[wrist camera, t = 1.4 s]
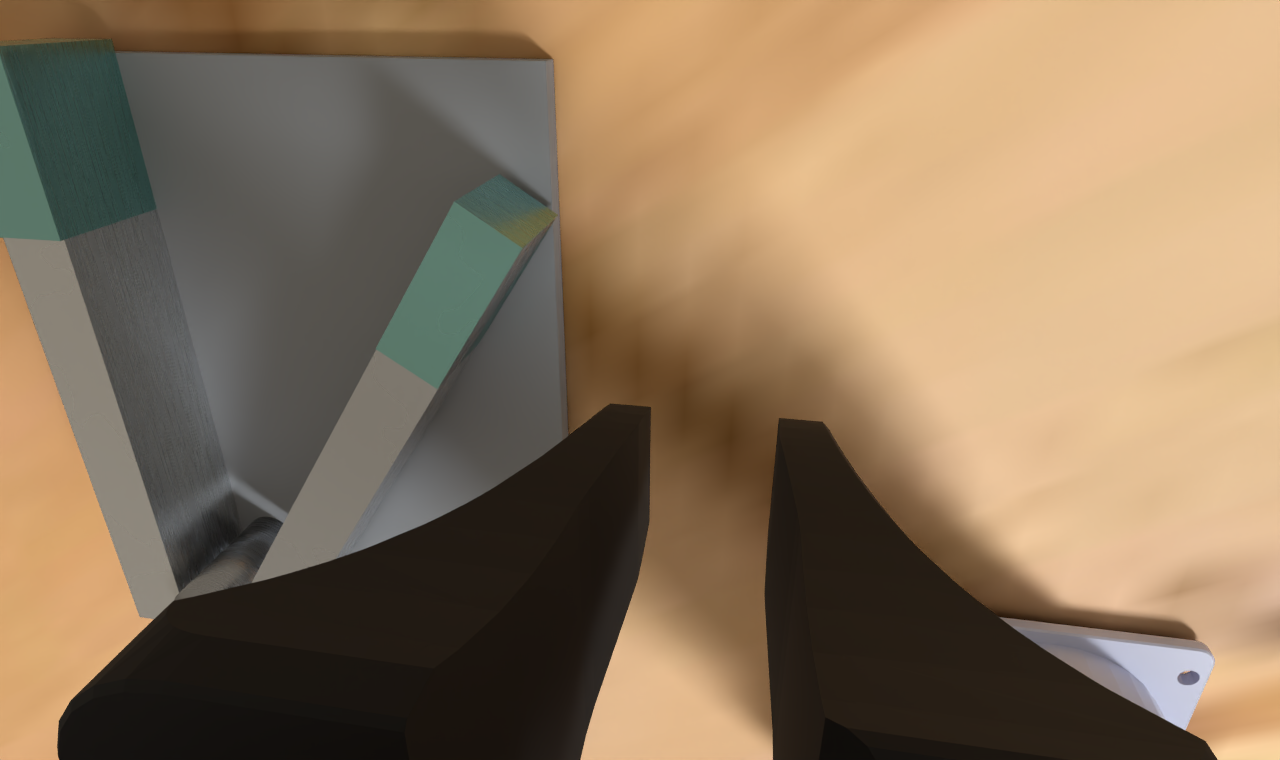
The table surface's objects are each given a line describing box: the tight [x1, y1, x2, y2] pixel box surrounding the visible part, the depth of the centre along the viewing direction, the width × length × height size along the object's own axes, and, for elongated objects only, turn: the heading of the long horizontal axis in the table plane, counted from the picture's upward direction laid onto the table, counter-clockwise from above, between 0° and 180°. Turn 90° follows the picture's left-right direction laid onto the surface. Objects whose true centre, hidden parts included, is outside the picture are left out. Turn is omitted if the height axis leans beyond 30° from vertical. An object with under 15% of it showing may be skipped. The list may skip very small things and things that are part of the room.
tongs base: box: [0, 38, 283, 619], centre depth 22 cm, size 22×5×4 cm, turn 0°
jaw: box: [252, 174, 558, 583], centre depth 20 cm, size 13×2×3 cm, turn 147°
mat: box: [115, 51, 568, 554], centre depth 23 cm, size 22×13×1 cm, turn 0°
